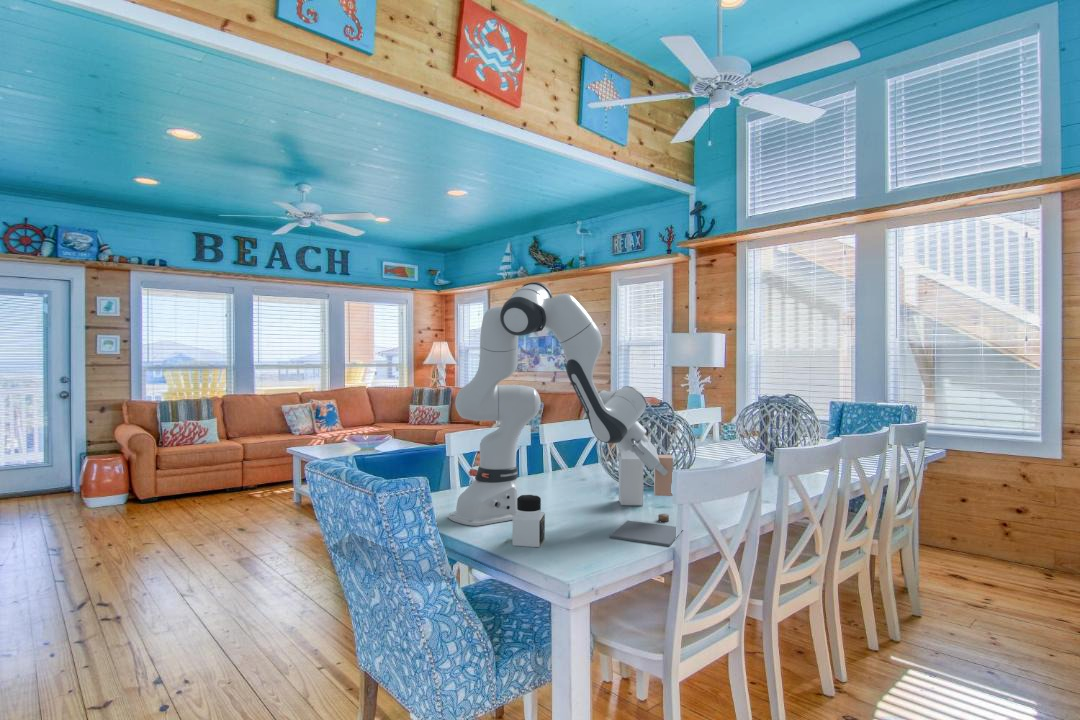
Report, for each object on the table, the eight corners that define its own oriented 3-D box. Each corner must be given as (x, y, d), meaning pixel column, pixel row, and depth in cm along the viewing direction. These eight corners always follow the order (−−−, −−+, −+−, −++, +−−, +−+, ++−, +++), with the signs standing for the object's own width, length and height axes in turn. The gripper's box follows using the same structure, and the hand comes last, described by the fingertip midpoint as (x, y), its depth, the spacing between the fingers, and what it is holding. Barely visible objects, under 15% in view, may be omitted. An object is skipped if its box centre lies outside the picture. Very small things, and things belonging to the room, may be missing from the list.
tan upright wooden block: (654, 495, 171) (655, 457, 171) (654, 491, 176) (654, 454, 176) (672, 496, 170) (672, 458, 170) (671, 491, 175) (671, 454, 175)
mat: (609, 537, 156) (609, 535, 156) (627, 522, 170) (627, 520, 170) (669, 546, 149) (669, 544, 149) (683, 529, 163) (683, 527, 163)
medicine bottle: (540, 547, 147) (540, 499, 147) (512, 546, 149) (512, 498, 149) (544, 539, 154) (545, 493, 154) (518, 537, 156) (518, 492, 156)
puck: (665, 522, 170) (665, 517, 170) (656, 520, 172) (656, 515, 172) (670, 520, 172) (670, 515, 172) (662, 518, 174) (662, 513, 174)
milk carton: (643, 505, 189) (643, 446, 189) (621, 505, 189) (621, 446, 189) (640, 500, 196) (640, 443, 196) (618, 500, 196) (618, 443, 196)
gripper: (640, 435, 163) (676, 471, 162) (638, 425, 184) (670, 457, 182) (624, 450, 164) (659, 487, 163) (624, 439, 184) (655, 471, 183)
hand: (665, 471), depth 173 cm, fingers closed on tan upright wooden block, 5 cm apart
